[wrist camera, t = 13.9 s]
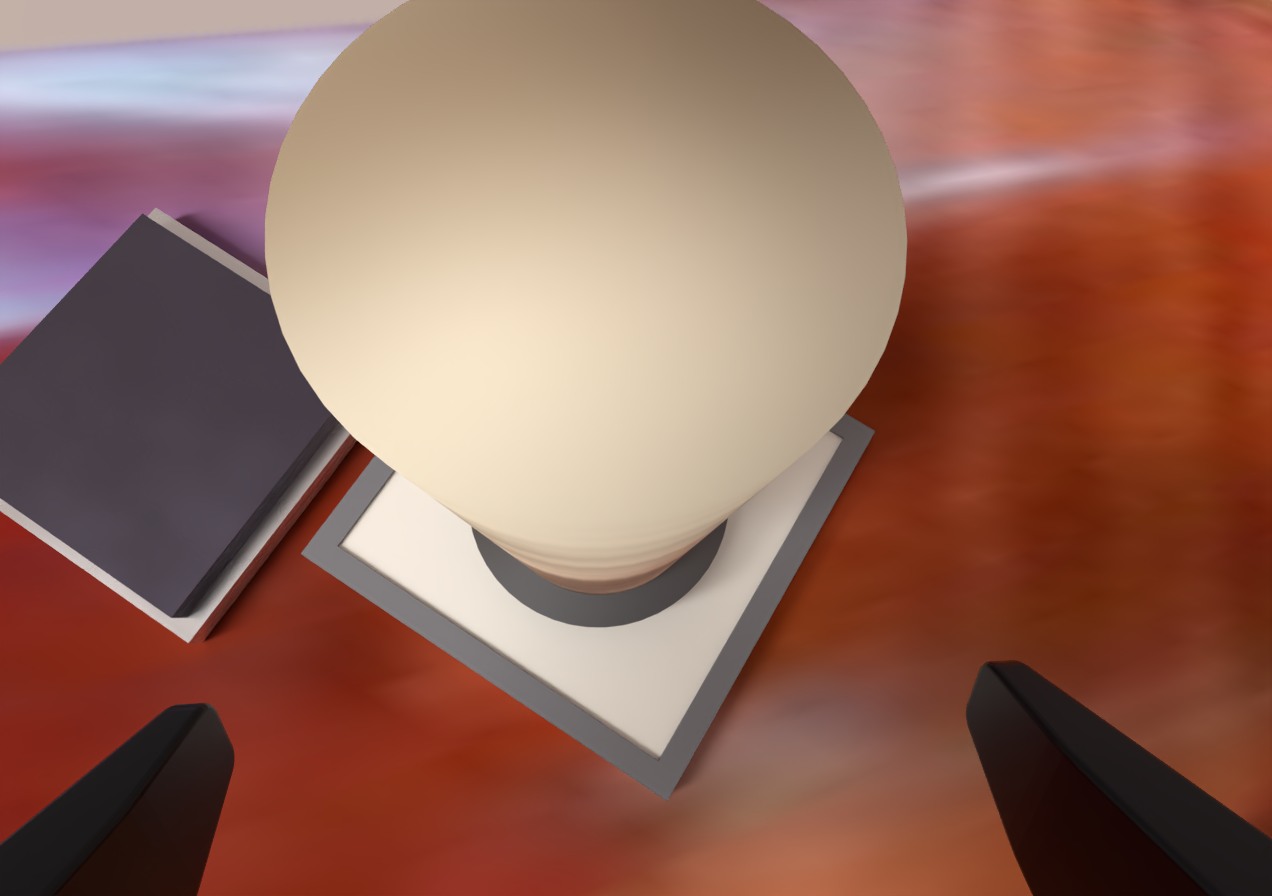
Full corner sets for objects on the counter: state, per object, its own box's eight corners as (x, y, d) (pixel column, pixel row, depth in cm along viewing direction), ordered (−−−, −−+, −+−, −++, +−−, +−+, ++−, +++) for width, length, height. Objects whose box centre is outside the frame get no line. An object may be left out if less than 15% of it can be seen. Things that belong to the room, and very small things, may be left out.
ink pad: (409, 373, 18) (396, 356, 17) (202, 642, 16) (172, 644, 15) (169, 220, 19) (141, 194, 18) (-55, 461, 17) (-102, 450, 16)
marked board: (868, 436, 18) (875, 431, 18) (665, 795, 16) (666, 801, 16) (545, 242, 19) (543, 232, 19) (309, 555, 17) (300, 553, 17)
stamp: (763, 559, 17) (1165, 402, 5) (537, 672, 16) (338, 823, 4) (655, 350, 18) (761, -195, 6) (439, 444, 17) (57, 28, 5)
